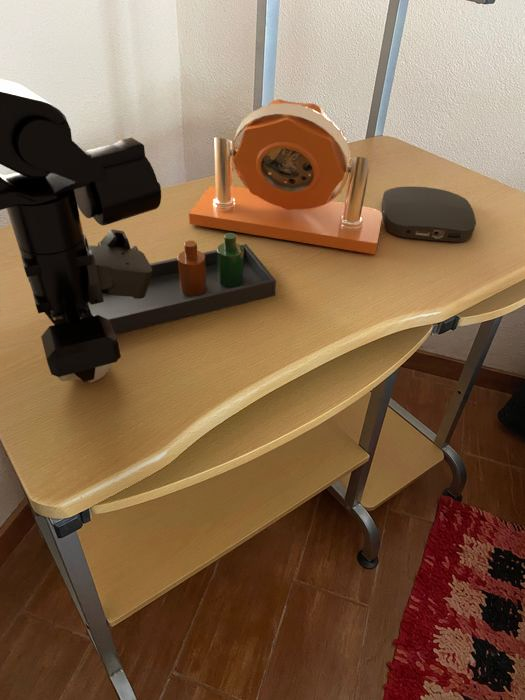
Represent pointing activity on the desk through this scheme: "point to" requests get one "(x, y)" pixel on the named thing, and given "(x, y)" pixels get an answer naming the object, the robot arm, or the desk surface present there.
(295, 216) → the desk clock
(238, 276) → the green bottle
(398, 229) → the media streaming box
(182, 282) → the amber bottle
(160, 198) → the robot arm
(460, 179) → the desk surface
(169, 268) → the tray
